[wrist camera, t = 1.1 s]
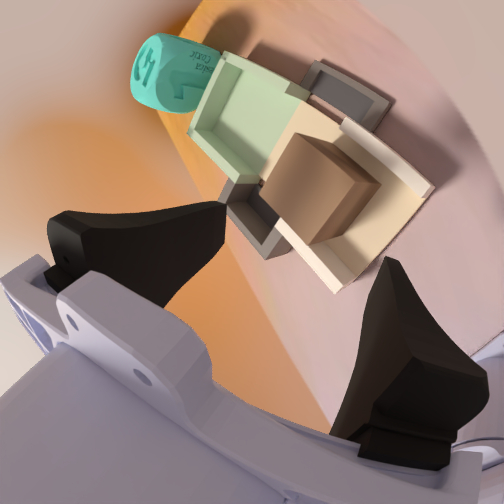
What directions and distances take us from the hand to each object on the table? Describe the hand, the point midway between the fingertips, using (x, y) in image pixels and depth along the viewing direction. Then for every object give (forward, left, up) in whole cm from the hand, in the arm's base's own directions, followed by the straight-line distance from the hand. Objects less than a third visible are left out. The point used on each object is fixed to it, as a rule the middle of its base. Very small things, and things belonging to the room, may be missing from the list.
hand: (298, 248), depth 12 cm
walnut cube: (+4, 0, -10) cm, 11 cm away
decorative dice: (+26, -1, -11) cm, 28 cm away
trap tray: (+9, 0, -10) cm, 14 cm away
